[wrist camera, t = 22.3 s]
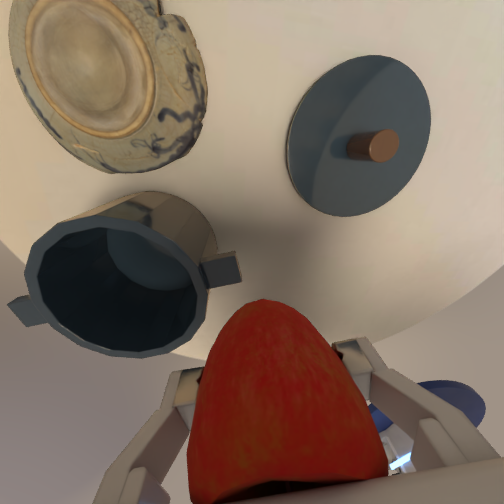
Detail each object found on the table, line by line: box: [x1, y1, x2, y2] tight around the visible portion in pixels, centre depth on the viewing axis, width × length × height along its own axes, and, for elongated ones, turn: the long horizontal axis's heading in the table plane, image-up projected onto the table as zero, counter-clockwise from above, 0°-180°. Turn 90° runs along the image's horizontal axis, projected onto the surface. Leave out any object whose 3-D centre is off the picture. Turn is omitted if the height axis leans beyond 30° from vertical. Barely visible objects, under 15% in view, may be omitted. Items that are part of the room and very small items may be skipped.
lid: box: [287, 55, 431, 217], centre depth 19 cm, size 14×14×5 cm
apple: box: [187, 299, 388, 504], centre depth 9 cm, size 6×6×8 cm
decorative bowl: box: [9, 0, 207, 174], centre depth 17 cm, size 15×4×15 cm
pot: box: [7, 191, 242, 358], centre depth 21 cm, size 13×18×10 cm
